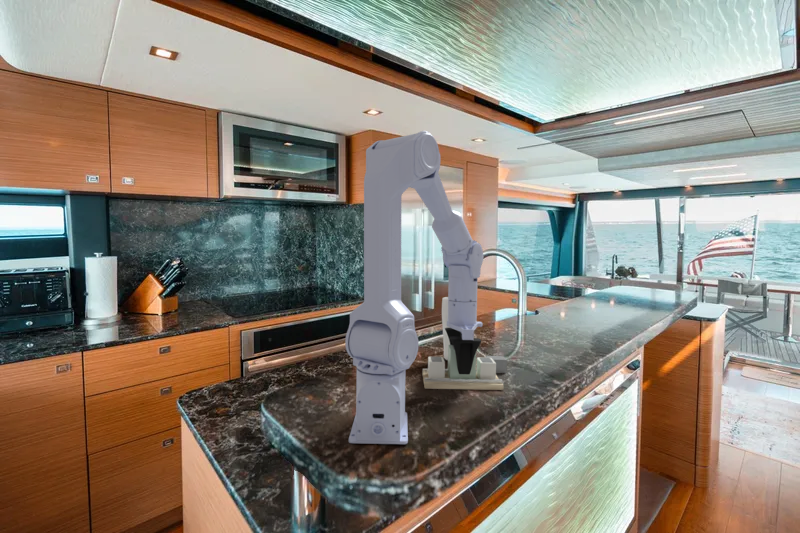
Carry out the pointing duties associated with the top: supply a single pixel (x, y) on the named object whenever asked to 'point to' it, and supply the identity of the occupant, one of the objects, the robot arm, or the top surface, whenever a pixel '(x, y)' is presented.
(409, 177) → the robot arm
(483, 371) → the mounted modules
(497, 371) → the block
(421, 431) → the top surface
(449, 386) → the rail panel
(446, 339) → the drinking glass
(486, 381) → the din rail
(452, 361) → the box
